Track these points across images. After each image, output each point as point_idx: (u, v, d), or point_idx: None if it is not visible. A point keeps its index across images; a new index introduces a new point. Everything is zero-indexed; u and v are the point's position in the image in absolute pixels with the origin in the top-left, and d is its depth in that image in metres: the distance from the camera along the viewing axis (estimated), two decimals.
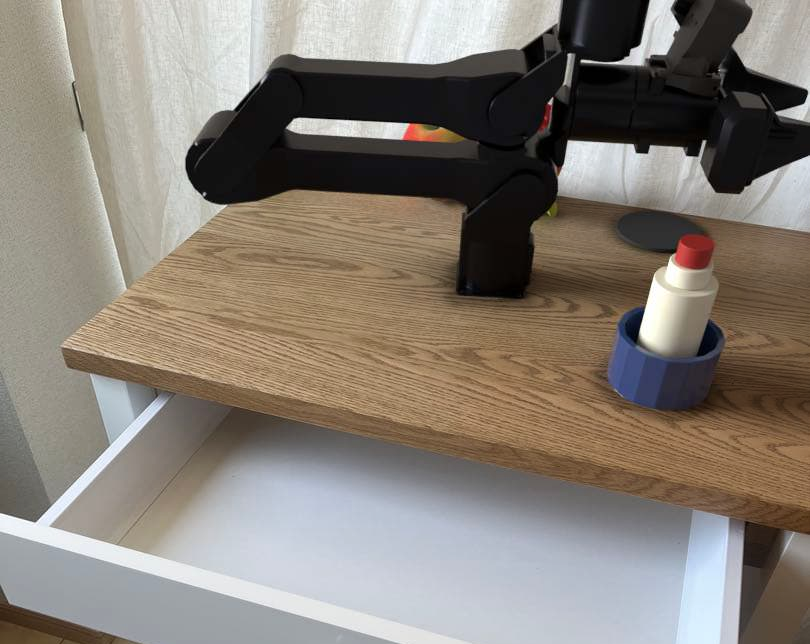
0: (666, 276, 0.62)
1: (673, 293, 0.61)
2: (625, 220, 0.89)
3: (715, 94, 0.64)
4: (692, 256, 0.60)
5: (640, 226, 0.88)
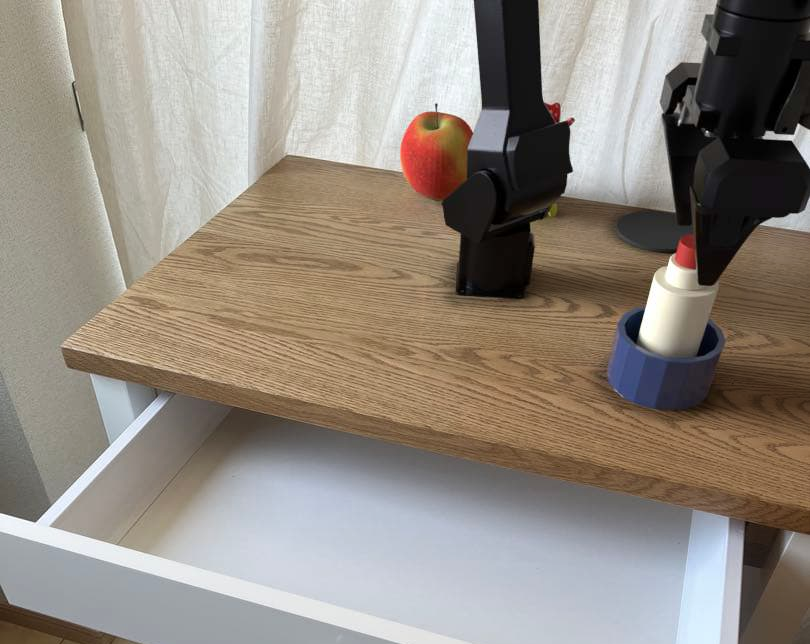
0: (666, 276, 0.62)
1: (673, 293, 0.61)
2: (625, 220, 0.89)
3: (776, 131, 0.52)
4: (692, 256, 0.60)
5: (640, 226, 0.88)
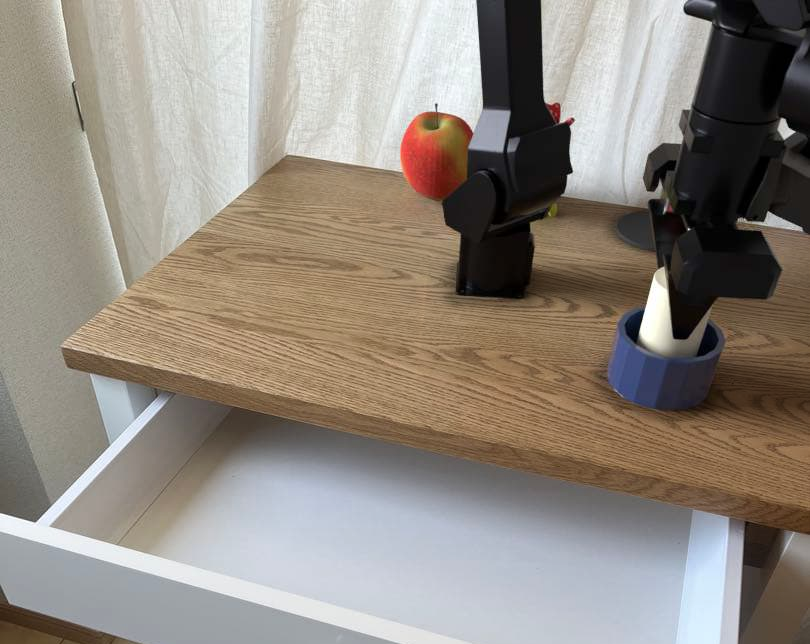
0: None
1: None
2: (625, 220, 0.89)
3: (748, 219, 0.56)
4: None
5: (640, 226, 0.88)
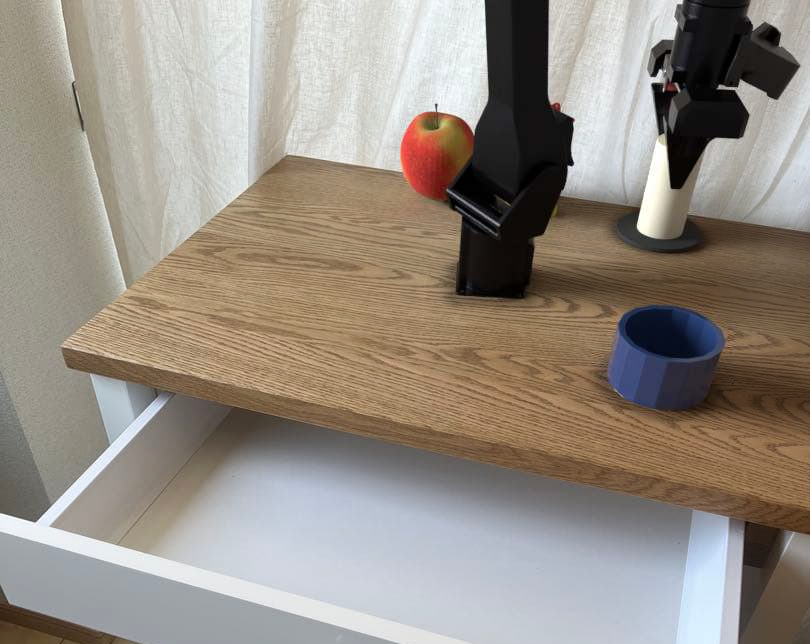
0: None
1: None
2: (625, 220, 0.89)
3: (726, 85, 0.75)
4: None
5: None
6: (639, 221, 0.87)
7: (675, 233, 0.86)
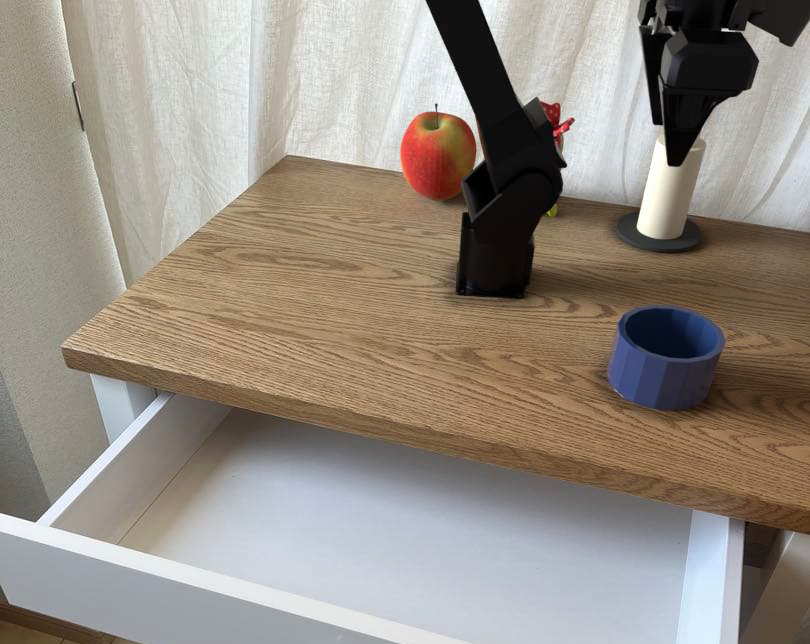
0: None
1: None
2: (625, 220, 0.89)
3: (730, 28, 0.62)
4: None
5: None
6: (639, 222, 0.87)
7: (675, 233, 0.86)
